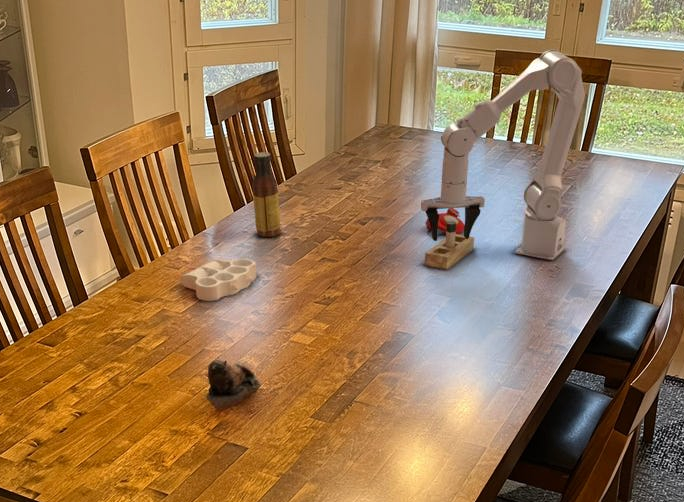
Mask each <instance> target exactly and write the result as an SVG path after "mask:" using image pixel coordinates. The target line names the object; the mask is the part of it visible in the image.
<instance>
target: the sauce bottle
mask: <svg viewBox="0 0 684 502" xmlns="http://www.w3.org/2000/svg"><path fill="white" fill-rule="evenodd" d="M253 160H254V164H255V175H254V177H253V179H252V197H253V198H252V199H253V208H254V209H253V210H254V220H255V221H254V222H255V228H256V233H257V235H258V236H259V237H262V238H263V237H264V238H273V237H276V236H279V235H280V234H281V230H282V229H281V213H280V201H279V191H278V182H277V180H276V178H275V176H274V174H273V172H272V165H271V163H272V161H271V160H272V155H271V153H270V152H266V151H265V152H264V151H261V152H256V153H255V154H254V155H253Z"/></svg>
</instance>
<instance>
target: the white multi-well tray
mask: <svg viewBox="0 0 684 502" xmlns="http://www.w3.org/2000/svg"><path fill="white" fill-rule="evenodd" d="M256 278H257V264H256V262H255V260H253V259H249V258H236V259H233V260H227V259H226V260H225V259H223V258H214V259H212V260H210V261H209V262H207V263H205V264H203V265H201V266H200V265H199V267H196V268H195V269H193V270H192V271H189V272H187V273H185V274H183V275H181V276H180V277H179V282H180V284H181V285H182V286H183V287H185V288H188V289H190V290H194V291H195V296H196V298H197V299H199V300H201V301H203V302H214V301H218V300H219V299H221V298H223V297H228V296H233V295H235V294H238V293H239V292H240V291H242V290H243V289H247V288H249V286H250V285H251V283H252V282H255V280H256Z"/></svg>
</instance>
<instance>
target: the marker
mask: <svg viewBox="0 0 684 502" xmlns="http://www.w3.org/2000/svg"><path fill="white" fill-rule="evenodd" d="M455 234H456V222H454V221H449V222H447V227H446V233H445V238H446V243H445V247H449V248H454V247H455Z"/></svg>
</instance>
